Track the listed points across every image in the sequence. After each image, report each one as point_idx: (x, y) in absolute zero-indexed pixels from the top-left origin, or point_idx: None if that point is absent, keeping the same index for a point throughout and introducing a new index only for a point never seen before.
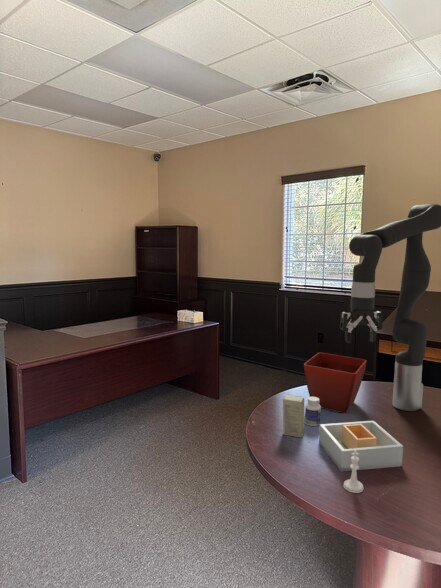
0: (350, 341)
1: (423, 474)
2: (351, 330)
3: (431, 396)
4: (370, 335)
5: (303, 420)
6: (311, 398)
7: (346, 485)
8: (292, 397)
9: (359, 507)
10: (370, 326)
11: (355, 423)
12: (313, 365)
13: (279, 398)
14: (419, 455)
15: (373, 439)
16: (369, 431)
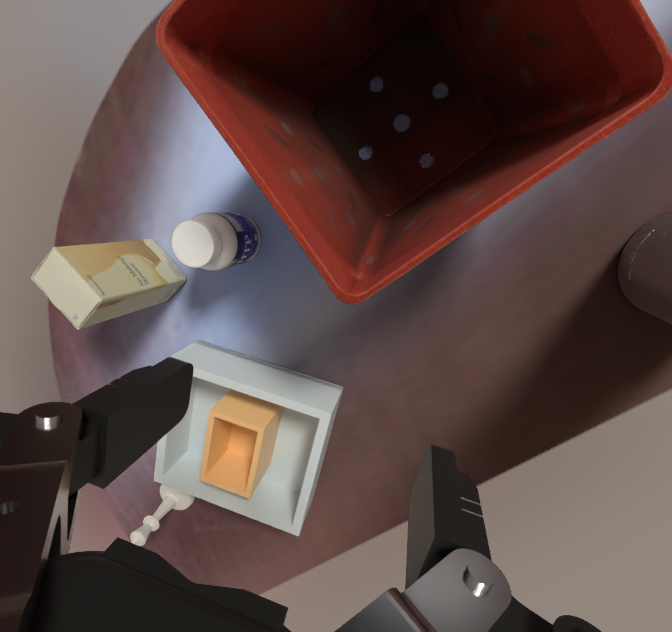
0: (169, 423)
1: (331, 535)
2: (70, 515)
3: None
4: (426, 496)
5: (152, 295)
6: (186, 238)
7: (160, 492)
8: (62, 283)
9: (158, 528)
10: (421, 615)
11: (266, 400)
12: None
13: None
14: (388, 493)
15: (242, 494)
16: (255, 468)
